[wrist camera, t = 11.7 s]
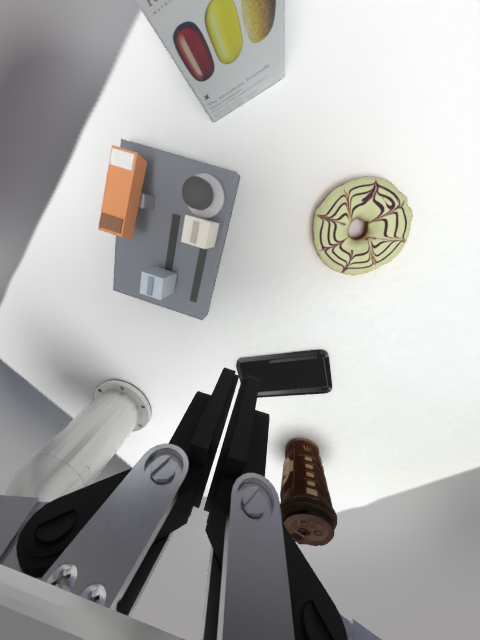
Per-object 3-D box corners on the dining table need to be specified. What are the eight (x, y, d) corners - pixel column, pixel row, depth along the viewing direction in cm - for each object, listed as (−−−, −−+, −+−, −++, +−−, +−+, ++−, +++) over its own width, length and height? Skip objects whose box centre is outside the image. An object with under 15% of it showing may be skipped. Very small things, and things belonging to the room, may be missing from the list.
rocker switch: (131, 239, 29) (120, 236, 26) (110, 232, 29) (97, 229, 27) (147, 161, 27) (136, 151, 25) (123, 154, 27) (110, 144, 25)
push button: (210, 213, 27) (206, 212, 26) (185, 205, 28) (179, 204, 26) (216, 183, 26) (212, 180, 25) (189, 175, 26) (184, 172, 25)
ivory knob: (214, 246, 30) (203, 249, 26) (193, 240, 31) (179, 241, 27) (219, 223, 29) (209, 222, 25) (197, 216, 30) (183, 214, 25)
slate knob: (173, 292, 34) (158, 301, 30) (155, 286, 34) (137, 293, 30) (177, 273, 33) (161, 279, 29) (157, 266, 33) (139, 271, 29)
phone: (332, 392, 38) (244, 398, 41) (331, 388, 39) (245, 394, 42) (328, 350, 35) (234, 360, 39) (326, 347, 36) (236, 357, 40)
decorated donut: (380, 161, 27) (395, 150, 23) (412, 244, 29) (430, 246, 26) (297, 213, 30) (299, 211, 27) (332, 284, 32) (337, 290, 29)
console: (207, 314, 38) (196, 326, 33) (123, 286, 38) (101, 294, 34) (240, 176, 30) (231, 166, 25) (133, 145, 31) (106, 130, 26)
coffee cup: (284, 467, 47) (283, 548, 35) (273, 436, 44) (268, 511, 32) (329, 464, 44) (344, 551, 32) (320, 431, 42) (333, 512, 30)
